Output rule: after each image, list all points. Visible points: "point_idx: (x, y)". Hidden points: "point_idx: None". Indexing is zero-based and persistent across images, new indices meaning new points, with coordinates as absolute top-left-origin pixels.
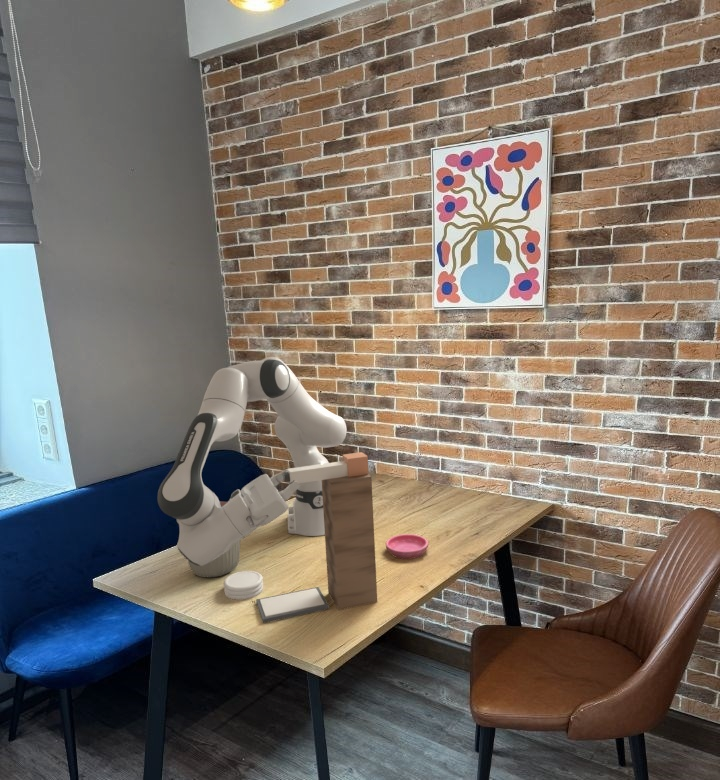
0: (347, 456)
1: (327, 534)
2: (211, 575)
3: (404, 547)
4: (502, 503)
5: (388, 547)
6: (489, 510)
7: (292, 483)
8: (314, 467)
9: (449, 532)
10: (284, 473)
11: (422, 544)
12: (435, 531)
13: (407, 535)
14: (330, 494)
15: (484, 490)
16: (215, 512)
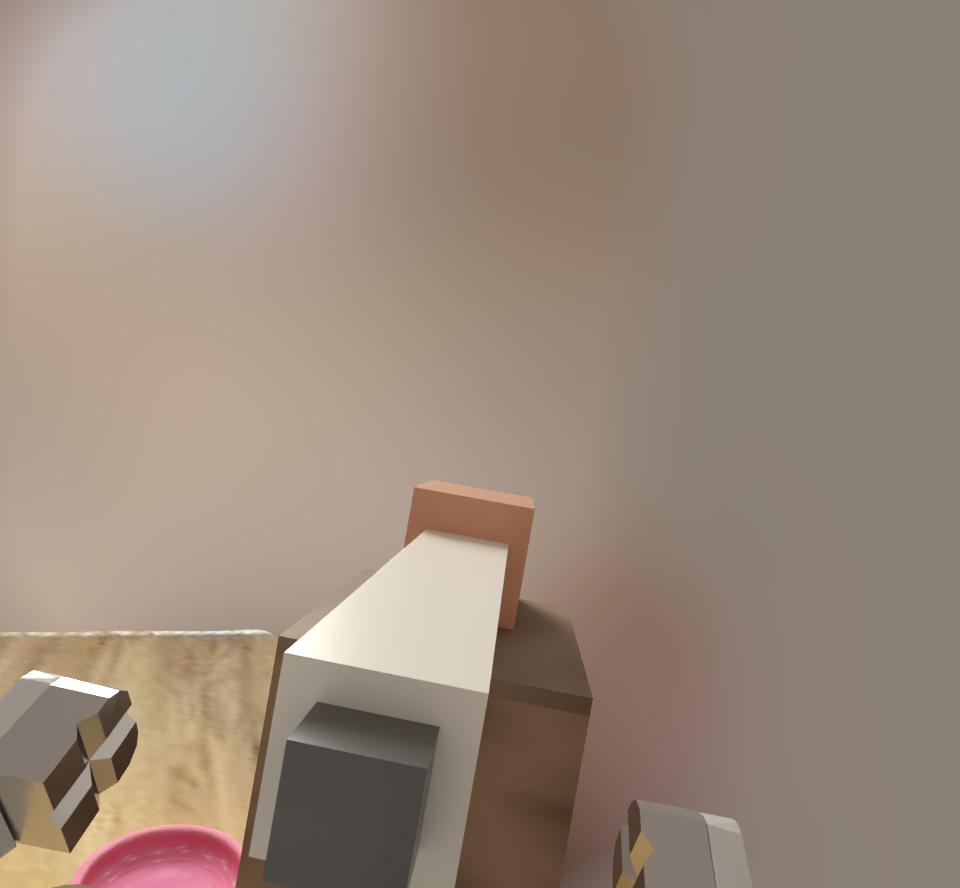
0: (474, 496)
1: None
2: None
3: None
4: (190, 654)
5: None
6: (189, 678)
7: (743, 876)
8: (463, 586)
9: (187, 773)
10: (355, 746)
11: (194, 854)
12: (142, 786)
13: (121, 844)
14: (533, 804)
15: (101, 631)
16: None
